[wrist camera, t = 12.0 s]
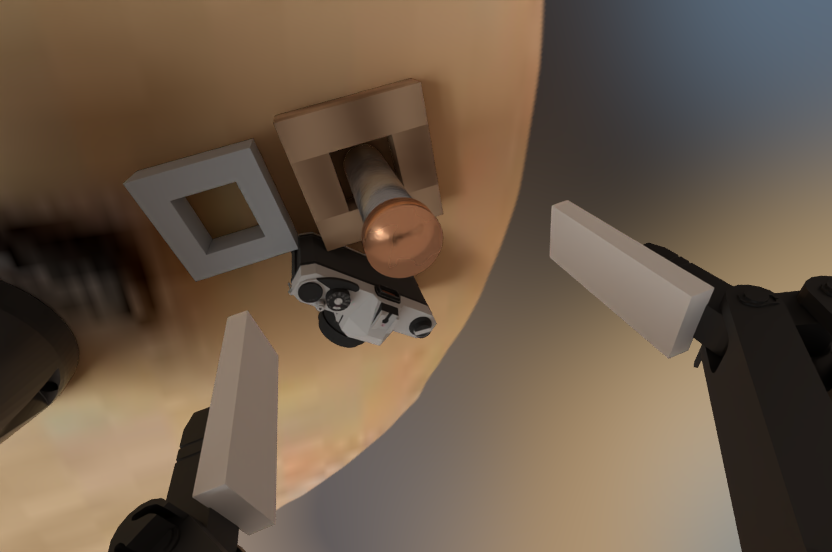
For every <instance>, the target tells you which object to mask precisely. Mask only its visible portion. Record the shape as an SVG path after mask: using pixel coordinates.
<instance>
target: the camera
mask: <svg viewBox="0 0 832 552" xmlns="http://www.w3.org/2000/svg"><path fill="white" fill-rule="evenodd" d="M291 253H292V278H291V283H292V285H291V284H290V283H288V285H289V288H290V289H289V291H288V293H289V294H290V295H294V296H295V297H296V298H297V299H298V300H299V301H300V302H302V303H306V304H309V305H312V306H315V307H316V310H318V311H320V313H319V315H318V319H319V328H320V330H321V332H322V333H323V334H324V336H325V337H326V338H328V339H329V340H330V341H331V342H333V343H335V344H337V345H339V346H342V347H347V348H352V347H356V346H358V345H360V344H363V343H364V342H368V343H372V344H375V345H379V346H380V345H381V344H382V343H383V341H384V340H385V339H386V338H387V337H388V336H389V335H390V333H391V332H392V331H395V332H399V333H402V334H405V335H408V336H411V337H415V338H424V337H426V336H428V335H429V334H430V332H431V330H432V329H433V328H434V327H435V325H436V324H437V323H436V321H435V319H434V317H433V315H432V312H431V310H430V308H429V306H428V305H427V303H426V301H425V299H424V297H423V295H422V293H421V291H420V289H419V287H418V284H417V282H416V280H415V278H414V276H410V277H406V278H393V277H388V276H385V275H383V274H381V273H379V272H378V271H376V270H375V269H374V268H373V267H372V266H371V264H370V263H369V261H368V259H367V256H366V254H363V253H361V252H359V251H356V250H354V249H352V248H349V247H347V246H343V247H340V248H337V249H333V250H330V251H327V249H326V247H325V244H324V242H323V240H322V237H321V235H318V234H316V233H314V232H307V233H301V234H299V236H298V249H297V250H294V251H291ZM290 285H291V286H292V288H291V287H290Z"/></svg>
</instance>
